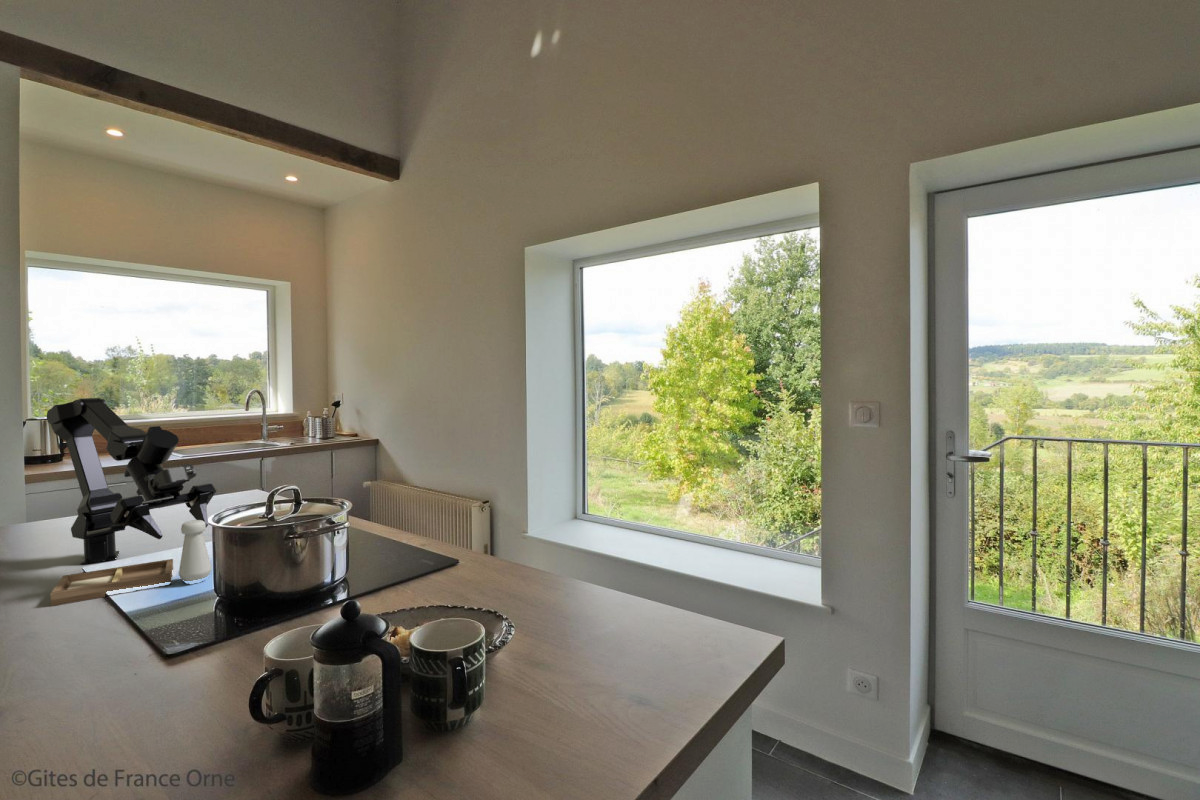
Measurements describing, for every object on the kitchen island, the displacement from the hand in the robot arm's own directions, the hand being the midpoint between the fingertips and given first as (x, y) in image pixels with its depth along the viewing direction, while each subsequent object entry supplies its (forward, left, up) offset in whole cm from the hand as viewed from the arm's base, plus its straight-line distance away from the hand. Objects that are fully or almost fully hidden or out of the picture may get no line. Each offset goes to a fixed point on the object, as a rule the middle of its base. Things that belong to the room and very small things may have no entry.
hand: (184, 532), depth 123 cm
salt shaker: (+3, +2, -10) cm, 11 cm away
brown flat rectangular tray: (-3, -12, -10) cm, 16 cm away
